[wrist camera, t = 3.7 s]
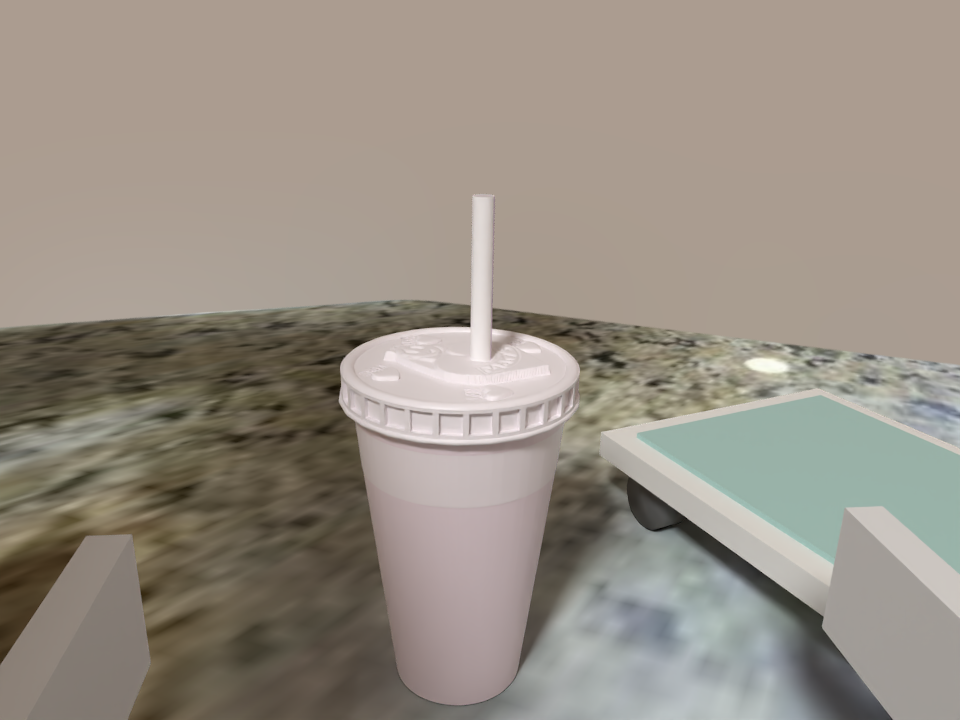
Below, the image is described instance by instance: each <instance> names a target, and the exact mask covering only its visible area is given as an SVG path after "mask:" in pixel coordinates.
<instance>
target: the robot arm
mask: <svg viewBox="0 0 960 720" xmlns="http://www.w3.org/2000/svg"><path fill="white" fill-rule="evenodd" d="M822 628H823V630H824V631H825V632H826V634H827V635H828V636H829V638H830V639H831V640H832V641H833V643H834V644H835V645H836V647H837V648H838V649H839V650H840V652H841V653H842V654H843V656H844V657H845V658H846V660H847V661H848V662H849V663H850V665H851V666H852V667H853V669H854V670H855V671H856V673H857V674H858V675H859V676H860V678H861V679H862V680H863V682H864V683H865V684H866V685H867V687H868V688H869V689H870V691H871V692H872V693H873V695H874V696H875V697H876V698H877V700H878V701H879V702H880V704H881V705H882V706H883V707H884V709H885V710H886V711H887V713H888V714H889V715H890V717H891V718H892V719H893V720H960V574H959V573H957V572H956V571H955V570H954V569H953V568H952V567H951V566H950V565H948V564H947V563H946V562H945V561H944V560H943V559H942V558H941V557H939V556H938V555H937V554H936V553H935V552H934V551H933V550H931V549H930V548H929V547H928V546H927V545H926V544H925V543H924V542H922V541H921V540H920V539H919V538H918V537H917V536H916V535H915V534H913V533H912V532H911V531H910V530H909V529H908V528H907V527H906V526H904V525H903V524H902V523H901V522H900V521H899V520H898V519H896V518H895V517H894V516H893V515H892V514H891V513H890V512H889V511H887V510H886V509H885V508H884V507H883V506H874V507H847V508H845V509H844V514H843V519H842V524H841V530H840V535H839V540H838V545H837V551H836V556H835V561H834V566H833V571H832V577H831V582H830V587H829V592H828V598H827V603H826V608H825V613H824V619H823V624H822ZM150 664H151V661H150V654H149V647H148V641H147V634H146V627H145V620H144V613H143V606H142V600H141V593H140V586H139V579H138V572H137V565H136V559H135V552H134V545H133V538H132V534H127V535H100V536H86V537H85V539H84V540H83V542H82V543H81V545H80V546H79V548H78V549H77V551H76V552H75V554H74V555H73V557H72V558H71V560H70V561H69V563H68V564H67V566H66V567H65V569H64V570H63V572H62V573H61V575H60V576H59V578H58V579H57V581H56V582H55V584H54V585H53V587H52V588H51V590H50V591H49V593H48V594H47V596H46V597H45V599H44V600H43V602H42V603H41V605H40V606H39V608H38V609H37V611H36V612H35V614H34V615H33V617H32V618H31V620H30V621H29V623H28V624H27V626H26V627H25V629H24V630H23V632H22V633H21V635H20V636H19V638H18V639H17V641H16V642H15V644H14V645H13V647H12V648H11V650H10V651H9V653H8V654H7V656H6V657H5V659H4V660H3V662H2V663H1V665H0V720H127V719H128V717H129V715H130V712H131V710H132V707H133V705H134V703H135V700H136V698H137V695H138V693H139V690H140V688H141V686H142V683H143V681H144V678H145V676H146V673H147V671H148V669H149V666H150Z"/></svg>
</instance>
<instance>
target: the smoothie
mask: <svg viewBox="0 0 960 720" xmlns="http://www.w3.org/2000/svg"><path fill="white" fill-rule="evenodd" d="M494 212H495V196H494V195H488V194H476V195H473V196H472V261H471V327H438V328H425V329H416V330H409V331H404V332H398V333H393V334H390V335H386V336H382V337H379V338H376V339H373V340H371V341H368V342H366V343H364V344H362V345H360V346H358V347H357V348H355V349H353V350H352V351H351V352H350V353H349V354H348V355H347V356H346V357H345V358H344V359H343V361H342V363H341V366H340V374H341V389H340V395H339V404H340V405H341V407H342V409H343V410H344V412H345V414H346V415H347V416H348V417H349V418H351V419H352V420H354V421H355V425H356V431H357V438H358V444H359V451H360V458H361V464H362V469H363V473H364V479H365V485H366V490H367V496H368V502H369V508H370V514H371V519H372V525H373V531H374V537H375V543H376V548H377V554H378V560H379V566H380V572H381V577H382V583H383V589H384V595H385V601H386V606H387V612H388V618H389V624H390V630H391V635H392V641H393V647H394V653H395V659H396V664H397V670H398V673H399V676H400V678H401V680H402V681H403V683H404V684H405V685H406V686H407V687H408V688H409V689H410V690H411V691H412V692H414V693H415V694H416V695H418V696H420V697H422V698H424V699H426V700H429V701H432V702H435V703H440V704H445V705H469V704H475V703H479V702H483V701H486V700H488V699H491V698H493V697H495V696H496V695H498V694H500V693H501V692H503V691H504V690H505V689H506V688H507V687H508V686H509V685H510V684H511V683H512V681H513V680H514V678H515V676H516V674H517V670H518V666H519V660H520V655H521V650H522V645H523V639H524V634H525V629H526V623H527V618H528V613H529V608H530V602H531V597H532V592H533V587H534V581H535V576H536V571H537V565H538V560H539V555H540V550H541V544H542V539H543V534H544V529H545V523H546V518H547V513H548V507H549V502H550V497H551V492H552V486H553V481H554V476H555V471H556V468H557V462H558V456H559V450H560V444H561V439H562V433H563V427H564V423H565V422H566V421H568V420H569V419H570V418H571V416H572V415H573V414H574V413H575V412H576V410H577V409H578V408H579V399H580V394H579V392H578V389H579V373H580V368H579V365H578V363H577V361H576V360H575V359H574V357H573V356H571V355H570V354H569V353H568V352H567V351H566V350H564V349H562V348H561V347H559V346H557V345H555V344H553V343H551V342H548V341H546V340H543V339H540V338H537V337H534V336H530V335H527V334H522V333H517V332H512V331H506V330H498V329H492V303H493V259H494V214H495V213H494Z"/></svg>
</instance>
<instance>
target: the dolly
mask: <svg viewBox="0 0 960 720" xmlns="http://www.w3.org/2000/svg"><path fill="white" fill-rule="evenodd" d="M600 456H602V457H603V458H605V459H606V460H607V461H609V462H610V463H611V464H613V465H614V466H616V467H617V468H618V469H620V470H621V471H623V472H624V473H625V474H627V475H628V476H629V479H628V484H627V495H628V501H629V504H630V507H631V510H632V512H633V514H634V516H635V517H636V519H637V520H638V522H639V523H640V524H641V525H642V526H644V527H645V528H647V529H651V530H653V529H658V528H661V527H665V526H669V525H672V524H676V523H680V522H682V521H683V520H684V519H685V518H688V519H689V520H690V521H692V522H693V523H695V524H696V525H697V526H699V527H700V528H701V529H703V530H704V531H706V532H707V533H708V534H710V535H711V536H713V537H714V538H715V539H717V540H718V541H719V542H721V543H722V544H724V545H725V546H726V547H728V548H729V549H731V550H732V551H733V552H735V553H736V554H737V555H739V556H740V557H742V558H743V559H744V560H746V561H747V562H749V563H750V564H751V565H753V566H754V567H755V568H757V569H758V570H760V571H761V572H762V573H764V574H765V575H767V576H768V577H769V578H771V579H772V580H773V581H775V582H776V583H778V584H779V585H780V586H782V587H783V588H785V589H786V590H787V591H789V592H790V593H792V594H793V595H794V596H796V597H797V598H798V599H800V600H801V601H803V602H804V603H805V604H807V605H808V606H810V607H811V608H812V609H814V610H815V611H816V612H818V613H819V614H821V615H822V616H823V617H824V613H825V608H826V603H827V598H828V592H829V587H830V582H831V577H832V571H833V566H834V561H835V556H836V551H837V545H838V540H839V535H840V530H841V524H842V519H843V514H844V509H845V508H847V507H874V506H883V507H884V508H885V509H886V510H887V511H889V512H890V513H891V514H892V515H893V516H894V517H895V518H896V519H898V520H899V521H900V522H901V523H902V524H903V525H904V526H906V527H907V528H908V529H909V530H910V531H911V532H912V533H913V534H915V535H916V536H917V537H918V538H919V539H920V540H921V541H922V542H924V543H925V544H926V545H927V546H928V547H929V548H930V549H931V550H933V551H934V552H935V553H936V554H937V555H938V556H939V557H941V558H942V559H943V560H944V561H945V562H946V563H947V564H948V565H950V566H951V567H952V568H953V569H954V570H955V571H956V572H957V573H959V574H960V448H958V447H956V446H953V445H951V444H949V443H946V442H944V441H941V440H939V439H937V438H934V437H932V436H930V435H927V434H925V433H923V432H920V431H918V430H916V429H913V428H911V427H908V426H906V425H904V424H901V423H899V422H897V421H894V420H892V419H890V418H887V417H885V416H883V415H880V414H878V413H875V412H873V411H871V410H868V409H866V408H864V407H861V406H859V405H857V404H854V403H852V402H850V401H847V400H845V399H842V398H840V397H838V396H835V395H833V394H831V393H828V392H826V391H824V390H821V389H819V388H817V389H812V390H808V391H803V392H798V393H793V394H788V395H783V396H778V397H773V398H768V399H763V400H758V401H753V402H748V403H743V404H738V405H733V406H728V407H724V408H719V409H714V410H709V411H704V412H699V413H694V414H689V415H684V416H679V417H674V418H669V419H664V420H659V421H654V422H649V423H644V424H639V425H635V426H630V427H625V428H620V429H615V430H610V431H605V432H601V441H600Z"/></svg>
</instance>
